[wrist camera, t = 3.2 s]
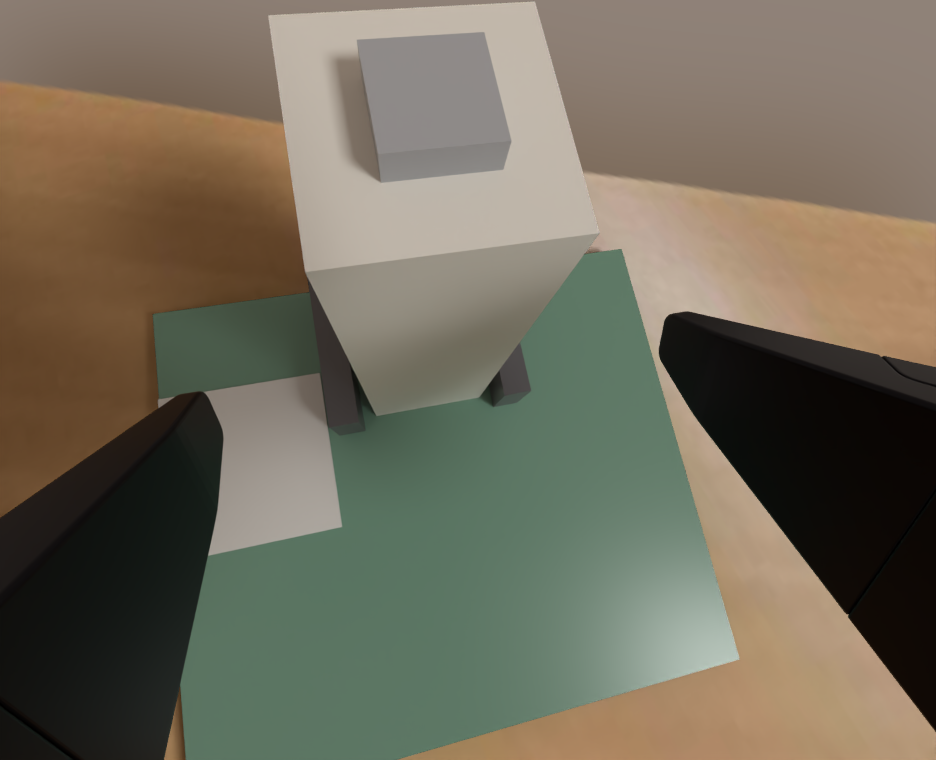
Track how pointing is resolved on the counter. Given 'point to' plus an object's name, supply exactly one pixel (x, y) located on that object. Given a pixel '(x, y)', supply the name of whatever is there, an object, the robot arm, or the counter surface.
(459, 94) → the white tall block
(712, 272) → the counter surface
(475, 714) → the board
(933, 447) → the robot arm
